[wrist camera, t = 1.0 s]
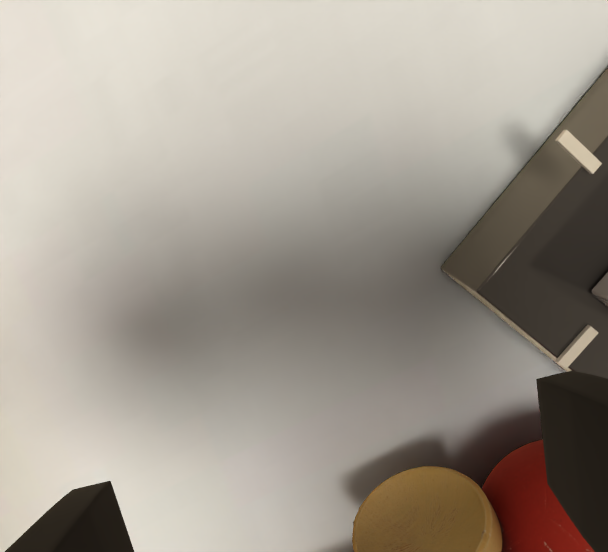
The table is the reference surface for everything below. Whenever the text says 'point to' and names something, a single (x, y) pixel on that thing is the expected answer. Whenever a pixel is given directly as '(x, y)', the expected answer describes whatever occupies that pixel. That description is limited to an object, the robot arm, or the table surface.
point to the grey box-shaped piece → (602, 290)
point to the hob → (550, 243)
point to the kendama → (468, 511)
